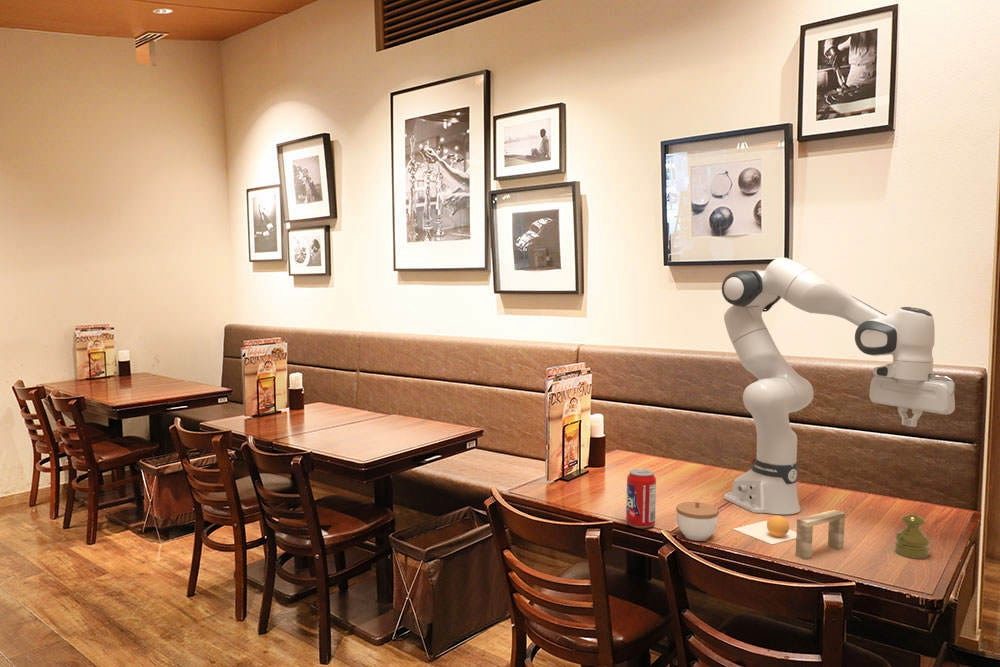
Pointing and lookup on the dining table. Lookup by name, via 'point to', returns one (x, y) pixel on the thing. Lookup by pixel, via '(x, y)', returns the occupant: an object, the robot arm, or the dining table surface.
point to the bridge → (806, 531)
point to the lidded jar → (697, 520)
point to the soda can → (641, 498)
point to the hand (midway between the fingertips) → (909, 425)
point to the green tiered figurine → (912, 538)
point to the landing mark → (764, 533)
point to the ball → (778, 526)
